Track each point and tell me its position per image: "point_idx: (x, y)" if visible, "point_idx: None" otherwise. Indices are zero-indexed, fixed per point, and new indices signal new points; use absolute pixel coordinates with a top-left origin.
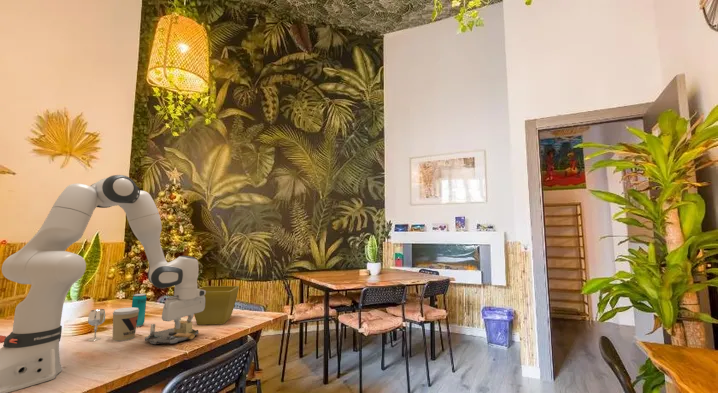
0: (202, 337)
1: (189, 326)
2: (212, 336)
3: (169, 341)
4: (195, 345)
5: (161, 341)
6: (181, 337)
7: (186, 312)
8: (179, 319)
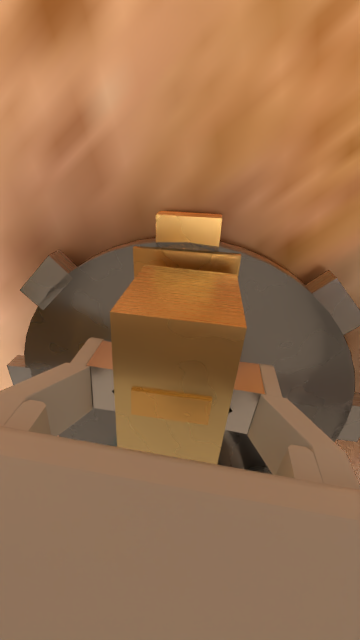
0: (80, 180)
1: (182, 294)
2: (14, 88)
3: (339, 333)
4: (331, 55)
5: (352, 381)
6: (253, 291)
7: (185, 553)
8: (318, 467)
